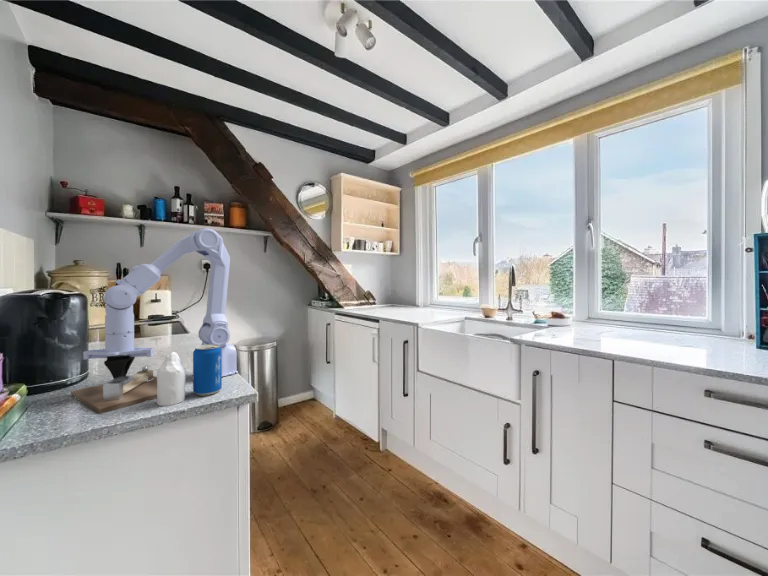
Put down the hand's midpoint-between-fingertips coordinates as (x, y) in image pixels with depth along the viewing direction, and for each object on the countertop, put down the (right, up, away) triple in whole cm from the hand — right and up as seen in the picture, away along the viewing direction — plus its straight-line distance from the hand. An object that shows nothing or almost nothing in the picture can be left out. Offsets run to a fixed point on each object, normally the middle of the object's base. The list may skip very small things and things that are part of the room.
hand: (120, 385), depth 81 cm
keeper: (+2, -1, +1) cm, 3 cm away
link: (+2, -1, +2) cm, 3 cm away
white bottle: (+17, -2, -5) cm, 17 cm away
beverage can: (+22, -2, +1) cm, 22 cm away
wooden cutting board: (+2, -2, 0) cm, 3 cm away
